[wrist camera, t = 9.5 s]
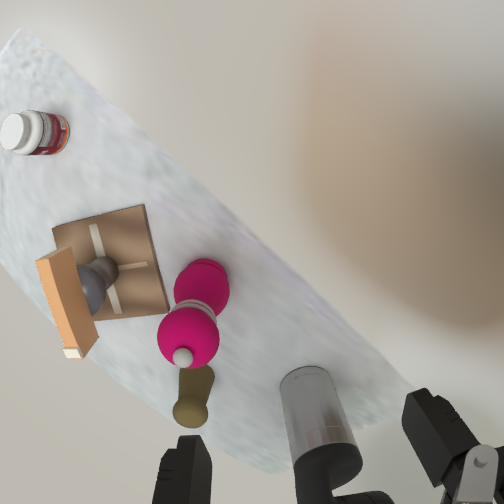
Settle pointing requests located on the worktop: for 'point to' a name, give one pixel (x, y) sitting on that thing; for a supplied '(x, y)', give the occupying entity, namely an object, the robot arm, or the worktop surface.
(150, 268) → the square stand base
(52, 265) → the tan long piece
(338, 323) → the worktop surface
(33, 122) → the pill bottle
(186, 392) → the cork
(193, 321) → the pepper mill
